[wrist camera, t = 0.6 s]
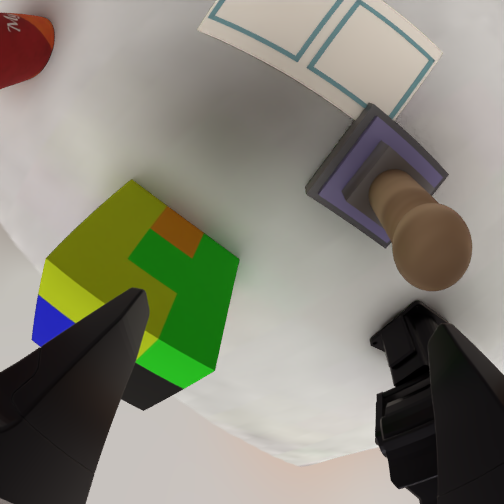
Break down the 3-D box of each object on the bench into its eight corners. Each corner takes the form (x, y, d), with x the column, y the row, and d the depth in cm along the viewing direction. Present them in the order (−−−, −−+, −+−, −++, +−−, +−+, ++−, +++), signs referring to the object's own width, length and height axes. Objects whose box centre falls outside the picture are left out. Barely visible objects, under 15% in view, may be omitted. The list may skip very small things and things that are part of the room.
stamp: (424, 179, 16) (503, 260, 8) (386, 225, 18) (438, 325, 10) (380, 140, 15) (459, 203, 7) (341, 191, 17) (381, 287, 9)
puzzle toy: (89, 260, 24) (31, 339, 16) (132, 178, 19) (45, 258, 11) (175, 320, 27) (143, 410, 19) (239, 258, 22) (214, 370, 14)
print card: (441, 53, 12) (443, 52, 12) (378, 139, 16) (380, 140, 16) (265, -61, 9) (265, -63, 9) (197, 30, 13) (196, 29, 13)
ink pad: (440, 168, 16) (451, 176, 15) (381, 239, 20) (387, 251, 19) (368, 102, 15) (375, 104, 14) (305, 187, 19) (306, 196, 17)
